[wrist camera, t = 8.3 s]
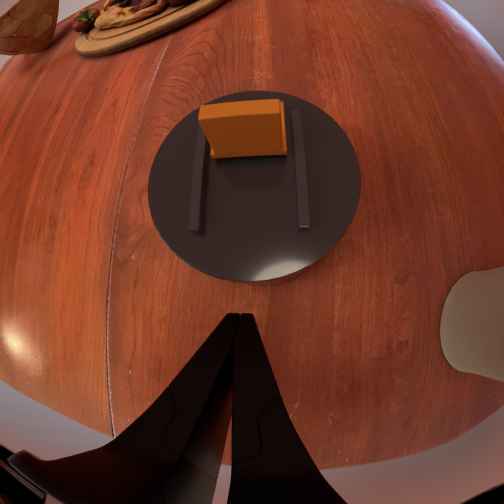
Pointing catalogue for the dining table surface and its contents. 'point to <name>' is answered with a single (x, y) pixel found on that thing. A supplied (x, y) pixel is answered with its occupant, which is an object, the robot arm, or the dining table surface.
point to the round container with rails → (256, 197)
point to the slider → (244, 128)
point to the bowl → (28, 26)
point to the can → (475, 324)
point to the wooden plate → (132, 23)
